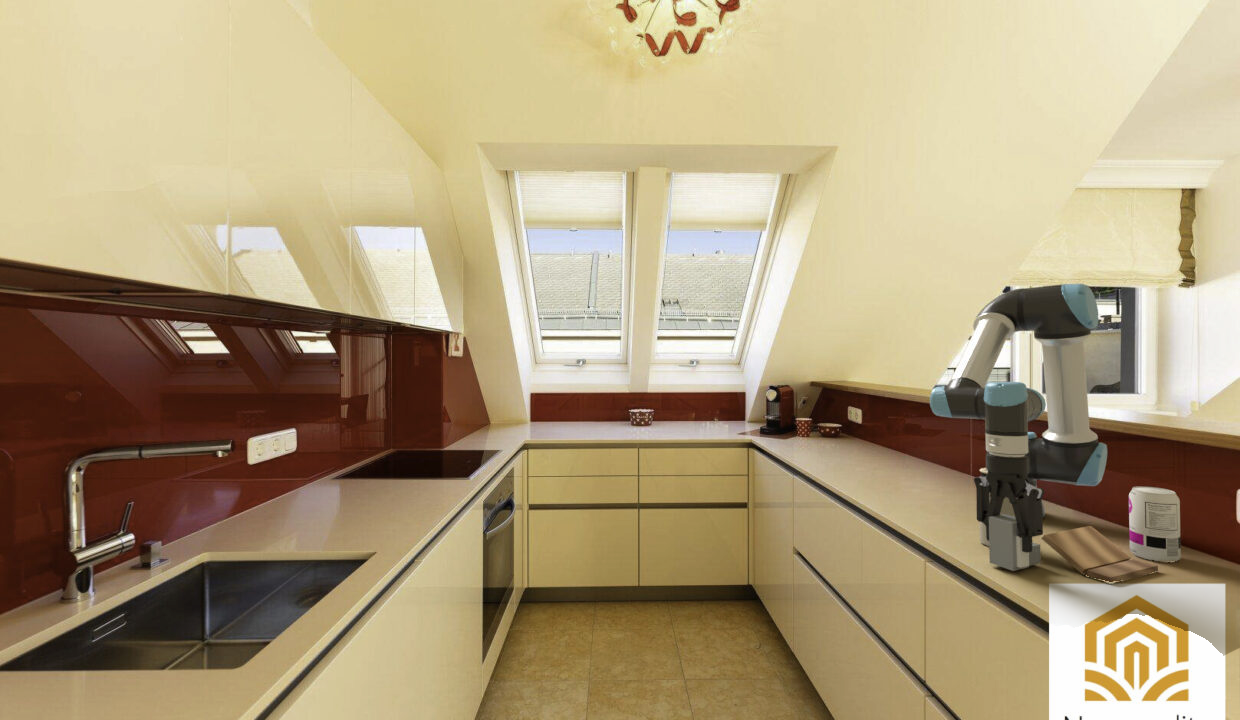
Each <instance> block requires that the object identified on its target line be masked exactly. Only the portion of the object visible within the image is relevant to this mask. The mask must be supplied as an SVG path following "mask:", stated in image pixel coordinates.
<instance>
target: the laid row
mask: <svg viewBox="0 0 1240 720" xmlns="http://www.w3.org/2000/svg"><path fill="white" fill-rule="evenodd" d="M1155 571H1158V572H1159V565H1158V564H1154V563H1151V562H1148V561H1143V560H1140V559H1136V558H1131V559H1130V560H1128V561H1124V562H1120V563H1116V564H1112V565H1107V566H1103V567H1099V568H1095V569H1091V570H1087V573H1084V574H1083V576H1084V575H1087V576H1089V577H1092V578H1096V579H1101V580H1105V581H1109V582H1113V581H1121V580H1126V581H1129V579H1130V580H1133V579H1137V578H1140V576H1141V577H1145V576H1148V575H1147V574H1149V575H1151V574H1150V573H1152V572H1155ZM1152 574H1153V573H1152ZM1144 575H1145V576H1144ZM1089 577H1088V578H1089ZM1136 577H1137V578H1136ZM1092 578H1091V579H1092ZM1132 578H1133V579H1132Z"/></svg>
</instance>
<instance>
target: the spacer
mask: <svg viewBox="0 0 1240 720" xmlns="http://www.w3.org/2000/svg"><path fill="white" fill-rule="evenodd" d="M1018 534H1020V532H1019V529H1018V525H1017V521H1016V518H1015V517H1013V516H1010V515H1006V514H1003V515H997V516H992V517H989V546H988V547H989V549H988V550H989V551H988V552H989V564H991V565H992V564H993V565H995V566H999V567H1001V568H1004V569H1007V570H1009V571H1013V572H1015V571H1019V570H1023V569H1027V568H1030V566H1033V565H1034V566H1035V565H1037V564H1042V563H1041V562H1042V561H1041V560H1042V559H1041V544H1039V543H1036V542H1033V541H1032V552H1029V566H1026V567H1022V568H1020V567H1017V553H1016V536H1017V535H1018Z"/></svg>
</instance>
